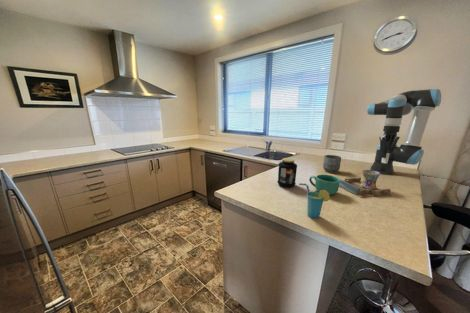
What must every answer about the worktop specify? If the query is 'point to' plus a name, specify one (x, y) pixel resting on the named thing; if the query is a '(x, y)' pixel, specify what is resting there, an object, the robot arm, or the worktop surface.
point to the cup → (315, 202)
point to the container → (287, 172)
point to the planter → (331, 163)
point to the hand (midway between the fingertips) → (384, 162)
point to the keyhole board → (361, 188)
